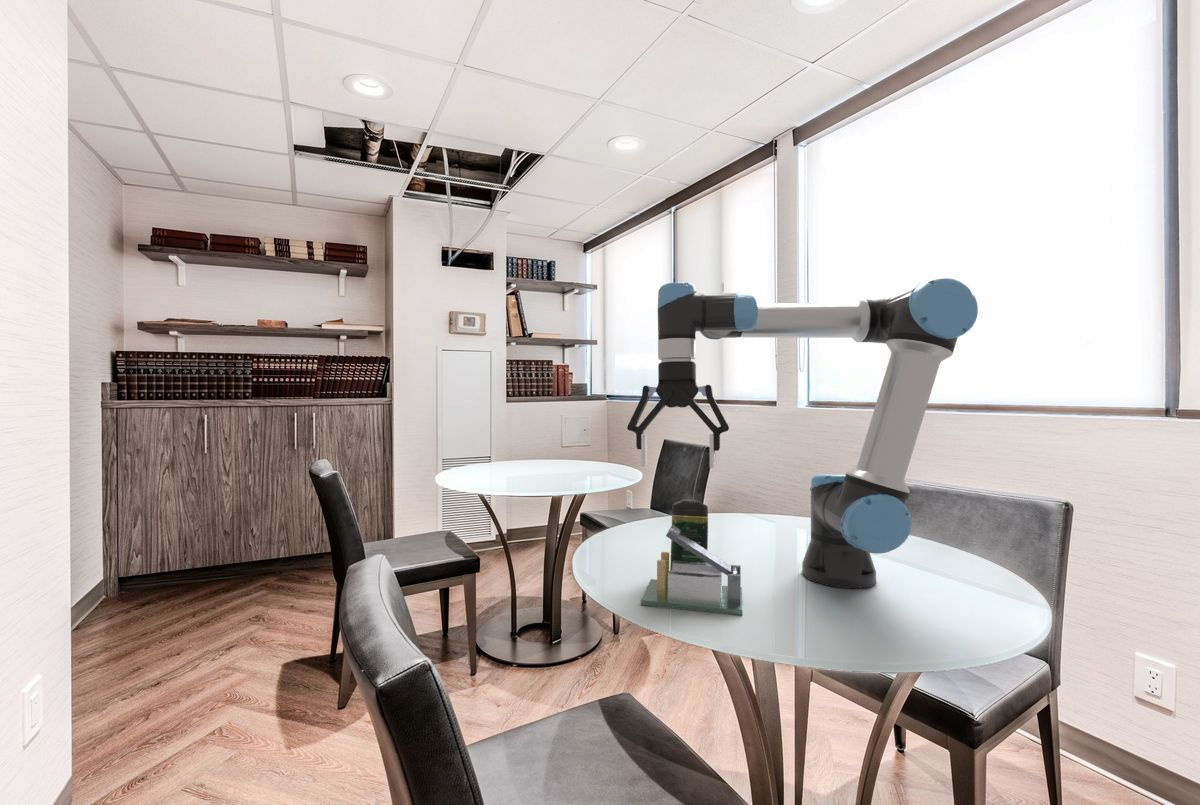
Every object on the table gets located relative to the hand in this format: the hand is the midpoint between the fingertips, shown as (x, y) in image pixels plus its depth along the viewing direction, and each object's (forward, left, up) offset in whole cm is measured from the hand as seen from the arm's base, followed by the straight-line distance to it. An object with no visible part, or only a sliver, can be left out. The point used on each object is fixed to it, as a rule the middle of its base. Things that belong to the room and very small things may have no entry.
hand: (677, 466), depth 108 cm
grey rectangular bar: (-4, +1, -17) cm, 18 cm away
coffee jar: (-1, -8, -27) cm, 28 cm away
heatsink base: (-4, +1, -26) cm, 27 cm away
